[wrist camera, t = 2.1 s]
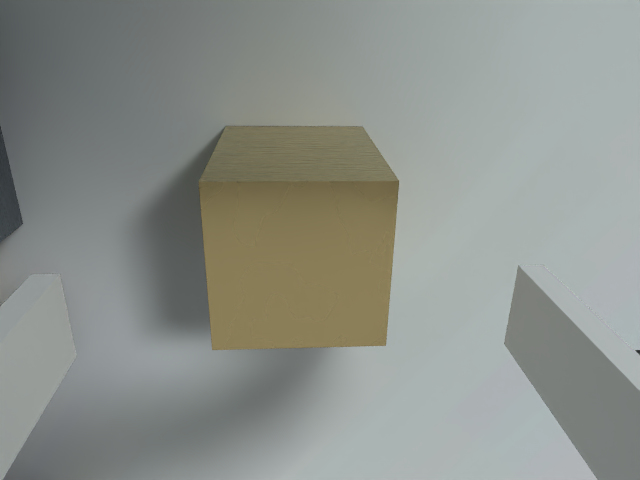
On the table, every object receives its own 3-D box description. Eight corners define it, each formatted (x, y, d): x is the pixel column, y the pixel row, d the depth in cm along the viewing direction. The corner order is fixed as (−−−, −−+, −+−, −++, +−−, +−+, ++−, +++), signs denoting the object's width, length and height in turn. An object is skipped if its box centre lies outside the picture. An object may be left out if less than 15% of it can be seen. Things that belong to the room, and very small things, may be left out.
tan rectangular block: (225, 126, 23) (198, 181, 15) (362, 126, 23) (398, 180, 16) (232, 250, 25) (212, 349, 18) (356, 249, 25) (385, 345, 18)
